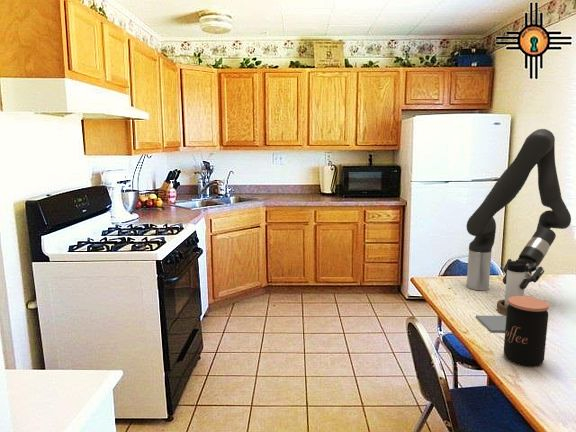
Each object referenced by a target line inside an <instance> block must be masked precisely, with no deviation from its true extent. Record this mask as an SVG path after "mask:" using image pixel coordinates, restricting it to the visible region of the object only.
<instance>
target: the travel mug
mask: <svg viewBox="0 0 576 432" xmlns="http://www.w3.org/2000/svg"><path fill="white" fill-rule="evenodd" d="M526 264H528V263H527V262H525V261H524V262H522V261H516V260H512V262H509V263H508V268H507V278H506V284H505V291H504V299H505V303H504V306H506V307H507V306H508V305H509V303H508V298H509V297H512V296H525V289H524V290H522V289H520V287H519V286H520V284H521V283H522V281H523V280H524V279H526V278H525V275H526Z"/></svg>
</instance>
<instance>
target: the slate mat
mask: <svg viewBox="0 0 576 432" xmlns="http://www.w3.org/2000/svg"><path fill="white" fill-rule="evenodd" d="M475 319H476V320H477V321H479V323H480V324H481V325H482V326H484V328H486V329H487V331H489V332H490V333H491V334H492V333H502V334H503V333H504V334H505V327H506V316H505V315H475Z"/></svg>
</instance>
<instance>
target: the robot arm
mask: <svg viewBox="0 0 576 432" xmlns="http://www.w3.org/2000/svg"><path fill="white" fill-rule="evenodd" d="M555 141H556V139H555V134H554V133H553V132H552V131H551V130H549V129H545V128H539V129H536V130H534V131H533V132H531V133H530V134H529V135H528V136H527V137H526V138H525V139H524V142H523V144H522V146H521V148H520V150H519V151H518V153H517V155H516V157H514V160H513V161H512V162H511V163H510V165H508V166H507V168H506V169H505V170H504V171H503V173H501V175H500V176H499V178H498V179H497V181H496V182H495V184H494V185H493V187H492V188H491V189H490V191H489V193H488V194H487V195H486V196H485V198H484V200H483V202H482V203H481V204H480V205H479V206H478V208H477V209H476V210H475V211H474V212H473V214H472V215H470V216H469V218H468V220H467V222H466V226H465V227H466V231H467V233H468V234H469V235H470V236H473V237H474V239H473V240H472V241H471V242H469V245H468V258H467V273H466V275H467V276H466V287H467V288H468V289H470V290H474V291H487V290H489V287H490V278H491V277H490V276H491V265H492V264H491V263H492V251H493V249H492V248H493V247H494V244H495V239H496V230H497V224H496V222H497V221H496V219H495V218H494V216H495V215H496V214H497V213H498V212H500V211H501V210H502V209H503V208H505V207H507V205H509V204H510V203H511V202H512V201H513V200H514V199H515V198H516V197H517V196H518V194H519V193H520V191H521V190H522V188H523V187H524V185H525V184H526V181H527V180H528V177H529V176H530V173H531V172H532V170H533V169H534V168H535V166H536V165H537V188H538V193H539V198H540V202H541V205H542V206H544V207H545V208H550V210H545V211H543V212H542V213H541V214H540V216H539V219H538V222H537V226H536V230H535V232H534V233H533V235H532V237H530V239H529V240H528V241H527V243H526V244H525V245H524V247H523V249H522V250H521V252H520V253H519V256H518V258H517V259H515V261H522V262H524V261H525V262H527V263H528V264H526V275H525V279H524V280H523V281H522V283H521V284H520V286H519V287H520V289H522V290H524V291H525V289H527V287H528V285H529V284H530V283H537V282H538V281H539V279H540V278H541V277H542V276H543V274H544V273H545V270H544V268H543V266H540V265H541V263H542V262H543V260H544V258H545V257H546V256H547V254H548V252H549V249H550V247H551V246H552V244H553V243H554V242H555V241H554V240H555V239H556V238H557V235H556V232H555V231H554V230H553V229H557V230H565V229H567V228H569V226H571V223H572V215H571V213H570V211H569V210H568V208H567V205H566V204H565V203H566V202H564V200H563V197H562V193H561V187H560V183H559V179H558V174H557V173H558V172H557V167H556V166H557V165H556V155H555V154H556V151H555V147H556V146H555V144H556V143H555ZM512 261H513V260H512V259H511V258H508V259H507V261H506V263H505V265H504V267H503V269H502V271H503V272H504V274H505V275H504V277H503V278H502V283H503V284H504V285H506V278H507V268H508V263H509V262H512ZM533 272H534V273H533Z"/></svg>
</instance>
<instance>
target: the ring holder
mask: <svg viewBox="0 0 576 432" xmlns="http://www.w3.org/2000/svg"><path fill="white" fill-rule="evenodd" d="M504 303H505V298H504V299H500V300H497V303H496V312H497V313H499V314H500V315H502V316H506V314H507V307H506V306H504Z"/></svg>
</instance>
